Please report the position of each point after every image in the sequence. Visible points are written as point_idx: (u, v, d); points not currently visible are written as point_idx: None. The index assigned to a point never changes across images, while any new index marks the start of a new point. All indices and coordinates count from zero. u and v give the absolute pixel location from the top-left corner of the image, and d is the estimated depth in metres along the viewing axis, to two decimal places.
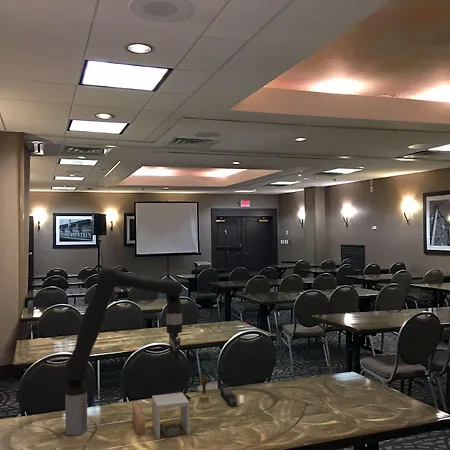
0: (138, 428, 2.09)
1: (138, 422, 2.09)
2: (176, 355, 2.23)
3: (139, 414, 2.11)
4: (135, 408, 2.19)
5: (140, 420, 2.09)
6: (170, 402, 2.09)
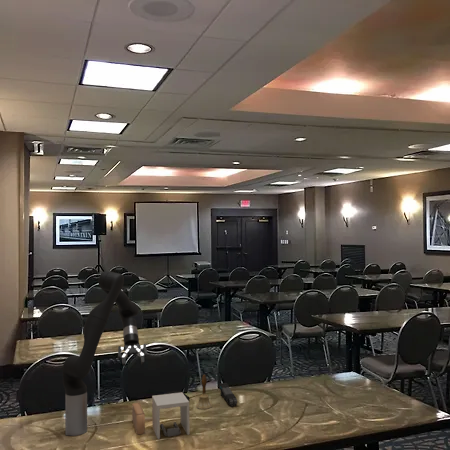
0: (138, 428, 2.09)
1: (138, 422, 2.09)
2: None
3: (139, 414, 2.11)
4: (135, 408, 2.19)
5: (140, 420, 2.09)
6: (170, 402, 2.09)
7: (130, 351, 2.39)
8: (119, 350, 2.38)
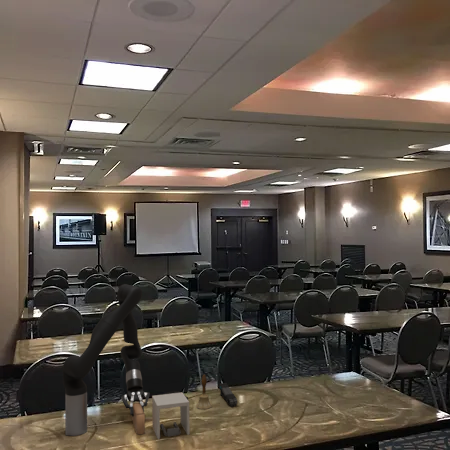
0: (138, 428, 2.09)
1: (138, 422, 2.09)
2: (143, 410, 2.24)
3: (139, 414, 2.11)
4: (135, 408, 2.19)
5: (140, 420, 2.09)
6: (170, 402, 2.09)
7: (135, 397, 2.26)
8: (124, 399, 2.24)
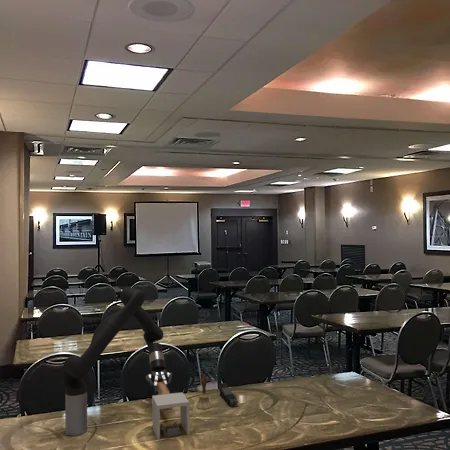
0: None
1: None
2: None
3: (164, 391, 2.25)
4: (160, 386, 2.33)
5: None
6: (170, 402, 2.09)
7: (159, 377, 2.40)
8: (149, 379, 2.38)
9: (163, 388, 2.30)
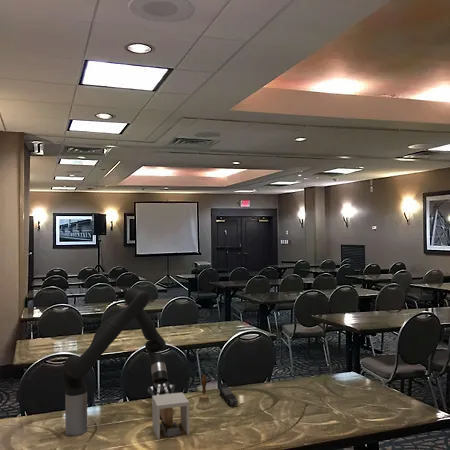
0: (166, 418, 2.16)
1: (166, 412, 2.16)
2: None
3: None
4: None
5: (168, 410, 2.16)
6: (170, 402, 2.09)
7: (161, 389, 2.33)
8: (151, 391, 2.31)
9: None
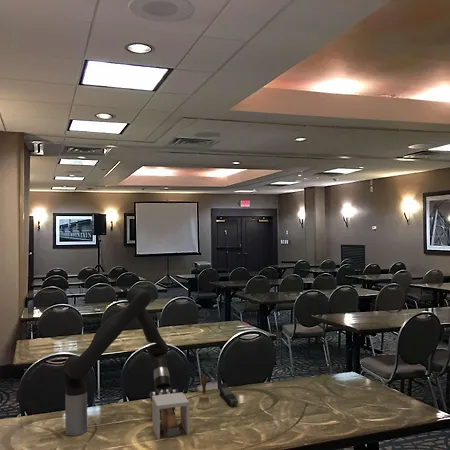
0: (169, 427, 2.10)
1: (169, 421, 2.10)
2: (174, 407, 2.24)
3: (170, 413, 2.12)
4: None
5: (171, 419, 2.10)
6: (170, 402, 2.09)
7: None
8: None
9: (168, 409, 2.16)
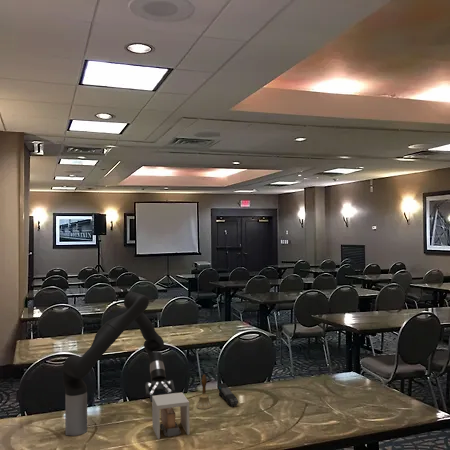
0: (169, 427, 2.10)
1: (169, 421, 2.10)
2: None
3: (170, 413, 2.12)
4: None
5: (171, 419, 2.10)
6: (170, 402, 2.09)
7: (158, 387, 2.38)
8: (147, 386, 2.37)
9: (168, 409, 2.16)
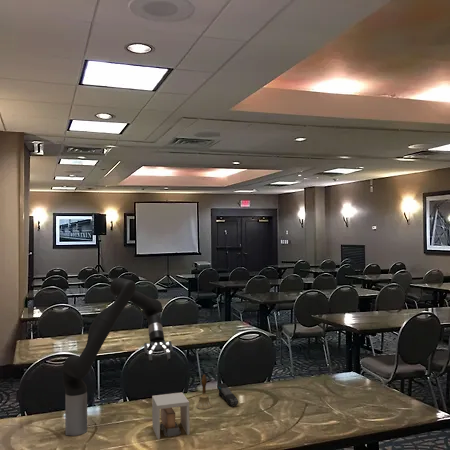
0: (169, 427, 2.10)
1: (169, 421, 2.10)
2: None
3: (170, 413, 2.12)
4: None
5: (171, 419, 2.10)
6: (170, 402, 2.09)
7: (156, 348, 2.42)
8: (145, 347, 2.41)
9: (168, 409, 2.16)
